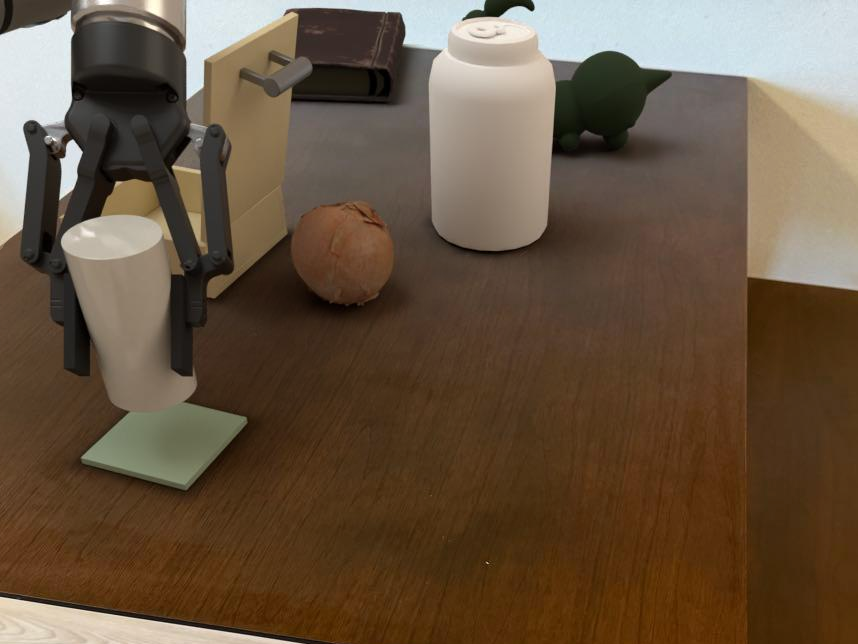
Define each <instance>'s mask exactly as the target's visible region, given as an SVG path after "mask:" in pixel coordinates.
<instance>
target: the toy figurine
mask: <svg viewBox="0 0 858 644" xmlns="http://www.w3.org/2000/svg"><path fill="white" fill-rule="evenodd" d="M516 7H517V8H518V7H521V8H525V9H526V10H528V11H529V12H531V13H532V12H534V11H535V9H536V6H535V3H534V1H533V0H484V5H483V9H482V10H481V9H472V10H470V11H468V13H467V14H466V15H465V16H464V17H462V19H461V21H464V20H467V19H472V18H480V17H500V18H501V17H502V16H503V15H504V14H505V13H507V12H508V11H510V9H513V8H516ZM672 76H673V72H671V71H670V70H660V69H649V68H648V69H647V68H642V67H641V66H640V65H639V64H638V63H637V62H636V61H635V59H633V58H632V57H630V56H628V55H627V54H625V53H623V52H620V51H617V50H604V51H603V50H602V51H600V52H597V53H594V54H592V55H590V56H589V57H587V58H586V59H585V60H583V61H582V62H581V63H580V64H579V66H578V67H577V68H576V70H575V71H574V73H573V74H572V76H571V79H561V80H558V81H555V85H556V92H555V107H554V123H553V139H555V140H558V143H559V145H560V146H561V148H562V149H563V151H566V152H573V151H575V150H576V149H577V148H579V146H580V142H581V135H582V134H584V132H588V133H590V134H593V135H596V136H600V137H602V139H603V143H604V144H605V145H606V146H607V147H609V148H610V149H612V150H613V149H614V150H619V149H621V148H624V147H625V146H626V144H627V143H628V140H629V137H630V134H629V131H628V130H629V129H631V128H634V127H635V125H636V124H637V121H638V120H639V118H640V116H641V115H642V113H643V111H644V108H645V105H646V103H647V97H648V95H649V94H651V93H652V92H653V91H655V90H656V89H657V88H659V87H660V86H661V85H663V84H664V83H666V82H667V81H668V80H669V79H671V77H672Z"/></svg>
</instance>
